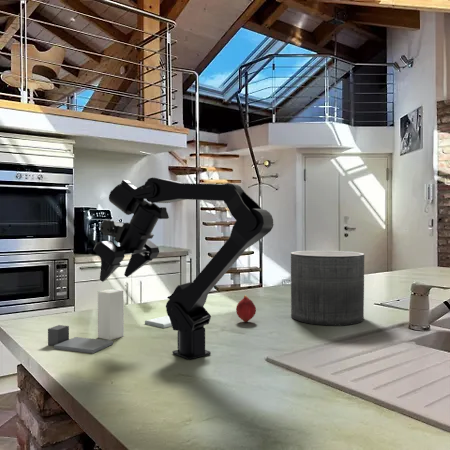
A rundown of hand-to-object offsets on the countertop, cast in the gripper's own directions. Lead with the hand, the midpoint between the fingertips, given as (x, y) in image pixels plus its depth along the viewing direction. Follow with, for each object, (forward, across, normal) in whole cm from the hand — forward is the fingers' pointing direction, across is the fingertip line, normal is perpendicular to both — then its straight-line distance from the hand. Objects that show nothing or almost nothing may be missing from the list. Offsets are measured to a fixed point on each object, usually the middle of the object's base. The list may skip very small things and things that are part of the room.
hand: (114, 278), depth 112 cm
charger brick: (+16, -4, +5) cm, 17 cm away
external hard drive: (+14, -25, +9) cm, 30 cm away
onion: (+3, -34, +26) cm, 43 cm away
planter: (-8, -50, +44) cm, 67 cm away
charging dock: (+17, +6, +3) cm, 18 cm away
